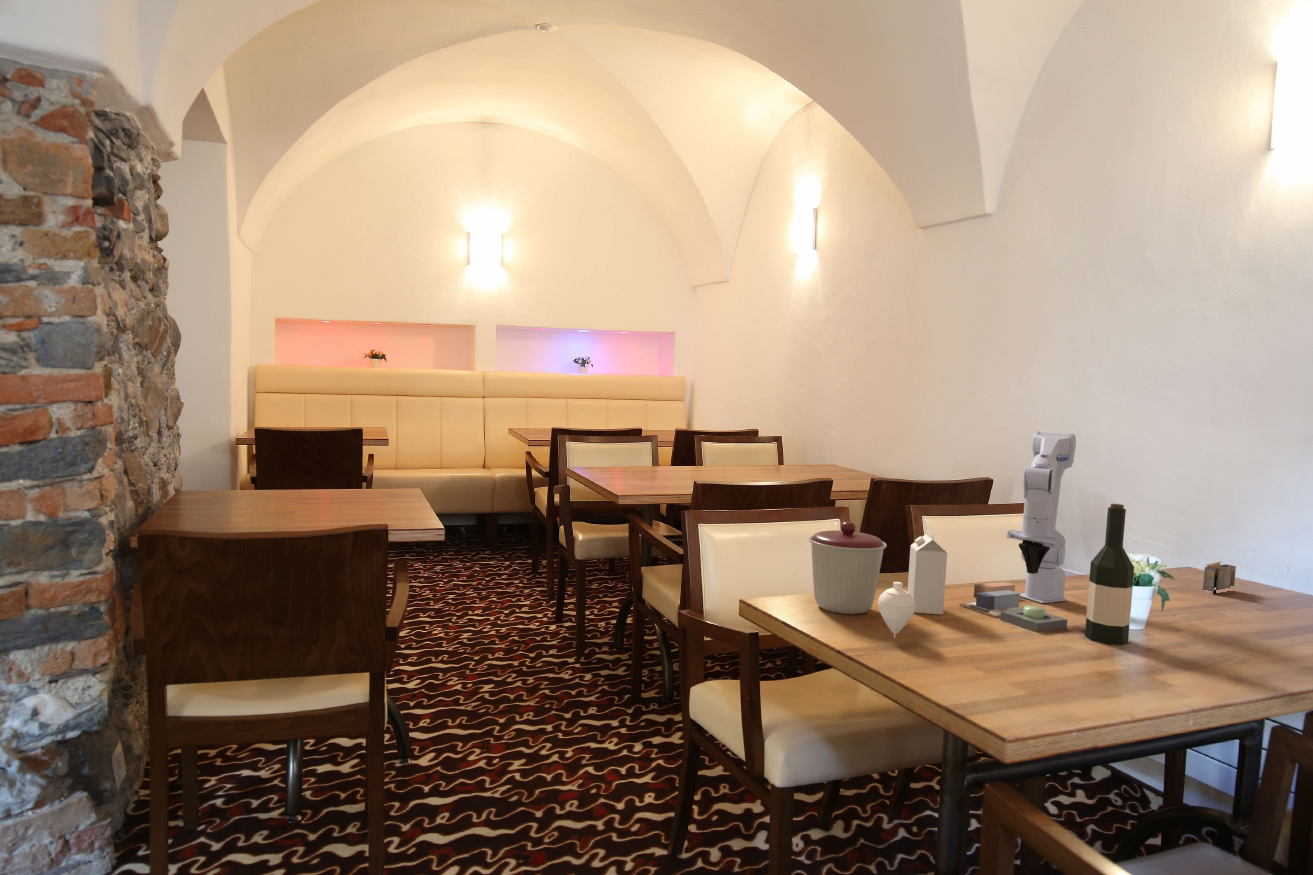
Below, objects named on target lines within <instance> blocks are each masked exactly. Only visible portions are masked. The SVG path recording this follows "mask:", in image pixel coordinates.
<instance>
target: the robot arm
mask: <svg viewBox="0 0 1313 875" xmlns="http://www.w3.org/2000/svg"><path fill="white" fill-rule="evenodd" d="M1076 445H1077V436H1076V435H1075V434H1074V433H1063V432H1060V433H1059V432H1046V431H1045V432H1044V431H1036V432H1035V433H1034V434H1033V438H1032V452H1033V453H1032V454H1033V459H1032V461H1031V464H1030V466H1029V467H1028V469H1027V468H1026V469H1024V472H1023V482H1022V483H1023V484H1022V485H1023V498H1024V504H1023V517H1022V518H1023V519H1022V531H1021V530H1015V529H1008V530H1007V532H1006V533H1007V535H1006V538H1007V539H1013V540H1018V541H1022V542H1020V543H1018V547H1019V549H1020V551H1021V555H1020V556H1021V560H1022V561H1023V562H1025V566H1026V576H1025V588H1024V592H1023V593H1022V592H1021V593H1020V598H1023V599H1026V600H1030V601H1033V602H1036V603H1037V602H1038V603H1040V604H1046V603H1057V602H1058V603H1059V602H1065V601H1067V600H1068V599H1067V598H1065V588H1066V587H1065V586H1066V572H1065V570H1064V569H1063V567H1062V566H1063V565H1064V562H1065V557H1066V538H1065V537H1064V535H1063V534H1062V533H1061V532H1060V531H1058V530H1057V529H1056V525H1057V517H1058V508H1059V502H1060V490H1061V485H1062V477H1063V475H1064V473H1065V470H1067V469H1070V468H1071V467H1073V464H1074V461H1075V454H1076V453H1075V452H1076Z"/></svg>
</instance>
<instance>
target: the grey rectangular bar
mask: <svg viewBox="0 0 1313 875" xmlns="http://www.w3.org/2000/svg"><path fill="white" fill-rule="evenodd" d="M1020 594H1021V593H1020V592H1017V591H1015V592H1014V591H1010V590H1004V591H994V592H984V593H977V596H976V598H975V602H976V606H979V607H982V608H985V609H988V610H996V609H1005V608H1014V607H1019V606H1020V598H1021V597H1020Z"/></svg>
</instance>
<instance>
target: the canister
mask: <svg viewBox="0 0 1313 875" xmlns="http://www.w3.org/2000/svg"><path fill="white" fill-rule="evenodd" d="M856 529H857V526H856V525H855V523H854V522H852V521H844V522H842V523H841V524H840V530H823V531H822V530H821V531H819V532H816V533H814V535H811V536H809V537H808V541H809V543H811V544H810V545H811V562H812V563H811V564H812V565H811V566H812V580H813V581H812V582H813V593H814V598H815V601H816V603H817V605H818V606H819V608H821V609H822V610H826V611H828V612H831V613H836V614H844V615H859V614H860V615H861V614H865V613H867V612H869V610H871V609H872V607H873V606H874V602H875V598H876V597H875V596H876V592H877V588H878V587H877V586H878V582H879V577H880V572H881V571H880V570H881V566H882V560H883V554H884V549H886V548H887V546H888V545H887V543H886V542H885V541H882V540H881V538H879V537H877V536H875V535H872V534H869V533H865V532H861V531H860V532H859V531H856Z"/></svg>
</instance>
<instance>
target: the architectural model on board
mask: <svg viewBox="0 0 1313 875" xmlns="http://www.w3.org/2000/svg"><path fill="white" fill-rule="evenodd" d="M1221 563H1222V561H1219V562H1218V561H1217V562H1213V563H1208V564H1206V566H1204V570H1203V571H1204V573H1203V583H1202V584H1203V585H1202V591H1203V590H1208V591H1212V592H1213V593H1214V591H1213V590H1214V588H1215V587H1216V590H1220V589H1225V588H1230V586H1234V587H1235V581H1236V573H1237V572H1236V570H1237V565H1231V564H1227V563H1225V564H1221Z"/></svg>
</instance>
